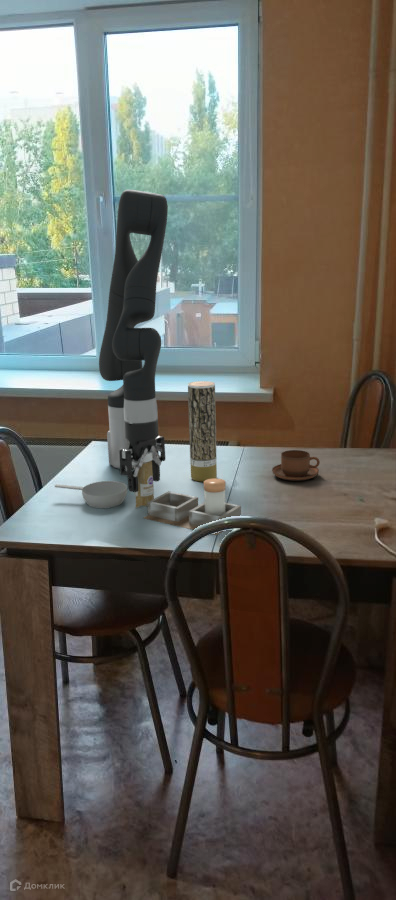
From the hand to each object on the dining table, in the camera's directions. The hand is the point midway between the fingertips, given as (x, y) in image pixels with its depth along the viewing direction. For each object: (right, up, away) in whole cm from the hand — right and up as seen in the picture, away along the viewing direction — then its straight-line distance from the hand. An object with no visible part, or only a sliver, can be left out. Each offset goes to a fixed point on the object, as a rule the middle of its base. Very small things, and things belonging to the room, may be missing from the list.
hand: (144, 486), depth 160 cm
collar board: (+11, -8, -8) cm, 16 cm away
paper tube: (+14, +1, +20) cm, 25 cm away
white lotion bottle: (+16, -7, -11) cm, 21 cm away
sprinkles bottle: (0, -5, +2) cm, 5 cm away
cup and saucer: (+38, +1, +20) cm, 43 cm away
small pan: (-13, -4, +7) cm, 16 cm away
